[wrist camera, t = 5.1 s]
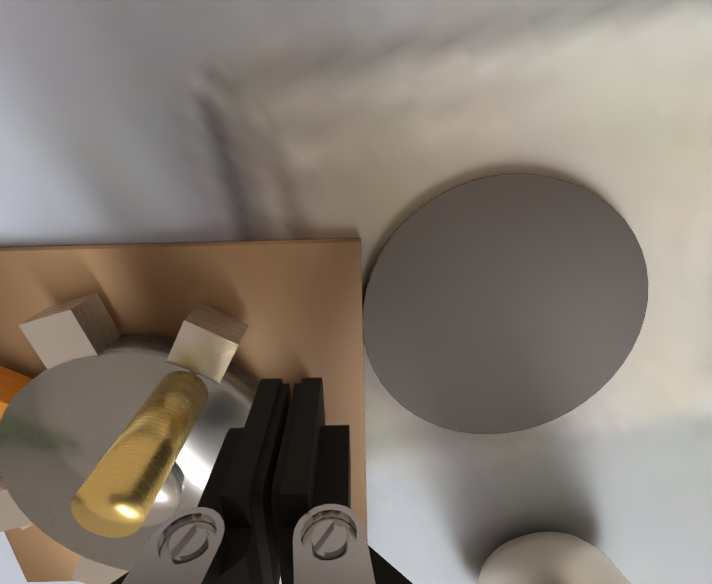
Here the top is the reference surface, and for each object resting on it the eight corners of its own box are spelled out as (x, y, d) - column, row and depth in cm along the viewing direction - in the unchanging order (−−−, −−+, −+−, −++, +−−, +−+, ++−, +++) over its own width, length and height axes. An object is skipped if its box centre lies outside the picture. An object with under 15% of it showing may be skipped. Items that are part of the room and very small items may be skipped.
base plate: (360, 238, 14) (361, 243, 14) (367, 563, 20) (368, 578, 20) (-109, 250, 14) (-131, 256, 14) (34, 571, 20) (24, 586, 20)
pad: (669, 169, 14) (681, 171, 13) (609, 422, 17) (616, 431, 17) (359, 177, 14) (359, 179, 13) (364, 428, 17) (365, 437, 17)
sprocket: (320, 286, 14) (298, 396, 8) (336, 560, 19) (329, 749, 13) (-74, 295, 14) (-364, 413, 8) (43, 566, 19) (-91, 759, 13)
